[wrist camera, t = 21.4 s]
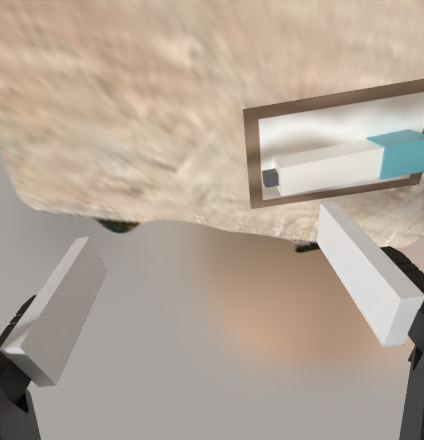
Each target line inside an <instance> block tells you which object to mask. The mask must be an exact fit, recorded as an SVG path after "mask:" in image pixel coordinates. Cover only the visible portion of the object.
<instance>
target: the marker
mask: <svg viewBox="0 0 424 440" xmlns="http://www.w3.org/2000/svg"><path fill="white" fill-rule="evenodd" d="M419 172H424V134H422V133H419V132H416V131H413V130H410V129H406V130H401V131H397V132H392V133H387V134H382V135H377V136H372V137H367V138H366V139H364V140H359V141H354V142H349V143H344V144H339V145H334V146H330V147H325V148H320V149H315V150H310V151H305V152H300V153H295V154H290V155H285V156H281V157H276V158H273V169H269V170H264V171H262V177H263V184H264V186H265V188H269V187H274V186H276V187H277V189H278V191H279V193H280V194H281V196H286V195H291V194H296V193H301V192H306V191H312V190H317V189H322V188H327V187H332V186H338V185H343V184H348V183H353V182H359V181H364V180H369V179H374V178H379V179H380V180H383V179H388V178H393V177H398V176H404V175H409V174H414V173H419Z"/></svg>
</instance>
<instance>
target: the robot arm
mask: <svg viewBox="0 0 424 440" xmlns="http://www.w3.org/2000/svg"><path fill="white" fill-rule="evenodd" d="M317 243H318V245H319V246H320V248H321V249H322V251H323V253H324V254H325V256H326V257H327V259H328V260H329V262H330V264H331V265H332V267H333V268H334V270H335V271H336V273H337V275H338V276H339V278H340V279H341V281H342V282H343V284H344V286H345V287H346V289H347V290H348V292H349V293H350V295H351V297H352V298H353V300H354V301H355V303H356V305H357V306H358V308H359V309H360V311H361V312H362V314H363V315H364V317H365V319H366V320H367V322H368V323H369V325H370V327H371V328H372V330H373V331H374V333H375V334H376V336H377V338H378V339H379V341H380V342H381V344H382V346H383V347H388V346H397V345H404V343H405V341H406V339H407V336H409V337H410V338H411V340H412V341H413V342H414V343H415V347H414V349H413V351H412V353H411V355H410V357H409V359H408V361H410V362H411V368H410V374H409V380H408V386H407V394H406V399H405V406H404V412H403V419H402V425H401V431H400V438H399V440H424V273H423V272H422V271H419V268H418V267H417V266H415V265H414V264H413V263H411V261H410V260H409V259H408V258H407V257H406V256H405V255H404V254H403V253H402V252H400V251H398V250H396V249H394V248H392V247H390V246H388V247H381V248H379V247H378V246H377V245H376V243H375V242H374V241H373V240H372V239H371V238H370V237H369V236H368V235H367V234H366V233H365V232H364V231H363V230H362V229H361V228H360V227H359V226H358V225H357V223H356V222H355V221H354V220H353V219H352V218H351V217H350V216H349V215H348V214H347V213H346V212H345V211H344V210H343V209H342V208H341V207H340V206H339V205H338V203H337V202H336V201H335V200H334V201H327V202H320V213H319V224H318V235H317ZM106 274H107V269H106V267H105V265H104V263H103V261H102V259H101V257H100V255H99V254H98V252H97V250H96V248H95V246H94V244H93V242H92V240H91V238H90V237H83V238H77V239H76V241H75V242H74V243H73V245H72V247H71V248H70V249H69V251H68V252H67V253H66V255H65V256H64V258H63V259H62V260H61V262H60V263H59V265H58V266H57V268H56V269H55V270H54V272H53V273H52V275H51V276H50V278H49V279H48V280H47V282H46V284H45V285H44V286H43V288H42V289H41V290H40V292H39V293H38V295H34V296H33V297H31V298H30V299H29V300H28V301H27V302H26V303H25V304H23V306H22V307H21V308H20V310H19V311H18V312H17V314H16V317H14V318H13V319H12V321H11V322H10V325H8V326H7V327H6V329H5V330H4V331H3V333H2V334H1V336H0V440H41V438H40V434H39V429H38V424H37V420H36V416H35V411H34V407H33V402H32V398H31V394H30V392H29V390H28V389H27V387H28V385H29V383H30V381H31V380H32V381H33V382H34V383H35V384H36V385H37V386H38V387H45V386H53V385H57V383H58V381H59V379H60V376H61V374H62V372H63V370H64V367H65V365H66V363H67V361H68V358H69V356H70V354H71V352H72V349H73V347H74V345H75V343H76V341H77V338H78V336H79V334H80V332H81V329H82V327H83V325H84V323H85V321H86V318H87V316H88V314H89V311H90V309H91V307H92V305H93V303H94V300H95V298H96V296H97V294H98V292H99V289H100V287H101V285H102V283H103V280H104V278H105V276H106Z"/></svg>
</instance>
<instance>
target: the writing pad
mask: <svg viewBox="0 0 424 440" xmlns="http://www.w3.org/2000/svg"><path fill="white" fill-rule="evenodd" d="M243 116H244V129H245V141H246V154H247V166H248V178H249V191H250V203H251V209H254V208H261V207H268V206H275V205H281V204H288V203H295V202H302V201H308V200H315V199H322V198H329V197H335V196H342V195H349V194H355V193H362V192H369V191H376V190H382V189H389V188H396V187H403V186H409V185H416V184H419V181H420V178H421V174H422V172H419V173H414V174H409V175H404V176H398V177H393V178H388V179H383V180H380V179H379V178H374V179H369V180H364V181H359V182H353V183H348V184H343V185H338V186H332V187H327V188H322V189H317V190H312V191H306V192H301V193H296V194H291V195H286V196H281V194H280V193H279V191H278V189H277V187H276V186H274V187H269V188H265V186H264V184H263V177H262V171H264V170H269V169H273V158H276V157H281V156H285V155H290V154H295V153H300V152H305V151H310V150H315V149H320V148H325V147H330V146H334V145H339V144H344V143H349V142H354V141H359V140H364V139H366V138H367V137H372V136H377V135H382V134H387V133H392V132H397V131H401V130H406V129H410V130H413V131H416V132H419V133H422V134H424V79H420V80H414V81H408V82H403V83H397V84H391V85H385V86H379V87H373V88H367V89H361V90H355V91H349V92H343V93H338V94H332V95H326V96H320V97H314V98H308V99H302V100H296V101H290V102H284V103H278V104H273V105H267V106H261V107H255V108H249V109H243Z"/></svg>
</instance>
